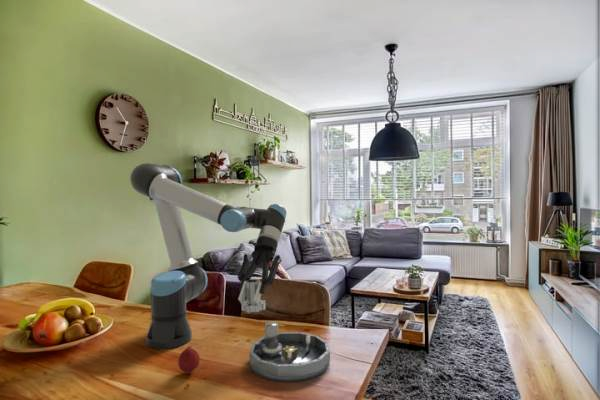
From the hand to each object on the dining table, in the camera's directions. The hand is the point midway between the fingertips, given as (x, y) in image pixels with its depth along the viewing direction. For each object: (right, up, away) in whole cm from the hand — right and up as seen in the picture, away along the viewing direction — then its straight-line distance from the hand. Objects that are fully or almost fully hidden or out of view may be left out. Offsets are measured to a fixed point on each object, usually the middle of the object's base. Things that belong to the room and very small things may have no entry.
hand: (248, 302), depth 111 cm
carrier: (+13, -18, -2) cm, 22 cm away
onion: (-16, -18, -8) cm, 26 cm away
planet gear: (+1, -3, +4) cm, 5 cm away
